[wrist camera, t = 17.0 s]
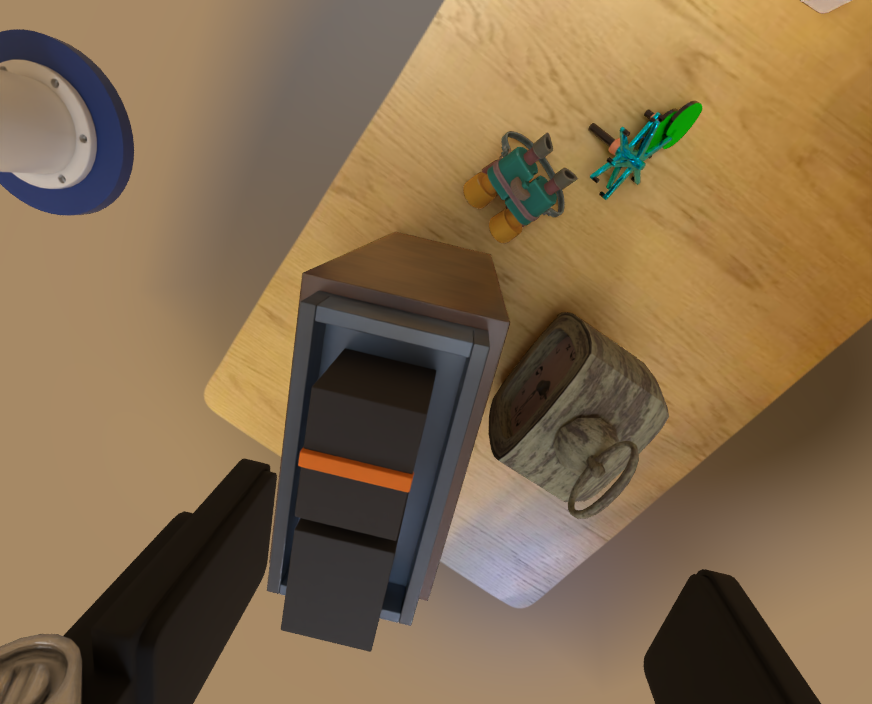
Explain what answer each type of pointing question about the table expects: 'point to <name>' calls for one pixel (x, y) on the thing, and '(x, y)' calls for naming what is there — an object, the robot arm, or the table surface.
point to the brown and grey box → (411, 343)
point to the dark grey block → (337, 583)
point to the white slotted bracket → (825, 4)
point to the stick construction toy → (643, 142)
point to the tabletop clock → (576, 414)
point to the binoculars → (519, 186)
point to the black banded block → (363, 442)
